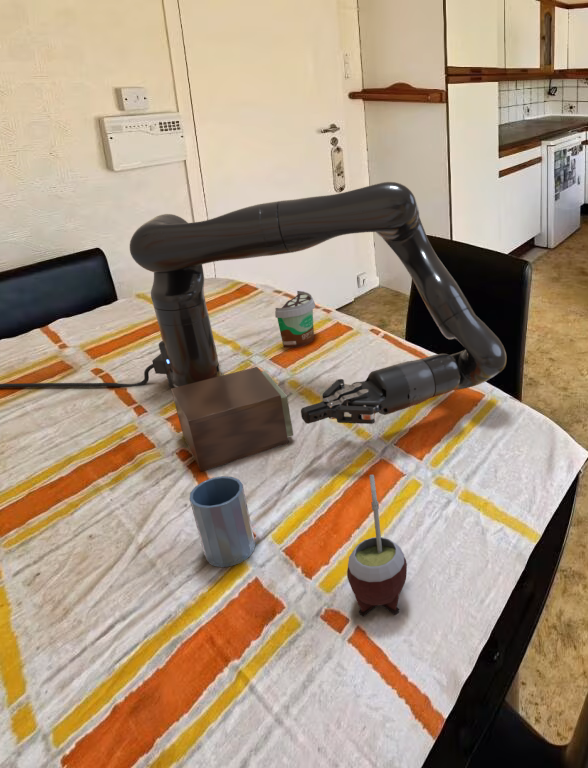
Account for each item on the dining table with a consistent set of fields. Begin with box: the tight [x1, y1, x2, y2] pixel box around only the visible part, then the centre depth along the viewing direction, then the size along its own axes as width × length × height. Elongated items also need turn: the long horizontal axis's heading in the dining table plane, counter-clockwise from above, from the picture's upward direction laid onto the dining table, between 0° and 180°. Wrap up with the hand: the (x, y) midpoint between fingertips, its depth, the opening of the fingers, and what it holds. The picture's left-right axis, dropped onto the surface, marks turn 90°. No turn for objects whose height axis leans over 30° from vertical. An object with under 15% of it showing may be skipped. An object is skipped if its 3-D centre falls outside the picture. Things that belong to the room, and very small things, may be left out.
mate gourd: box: [346, 474, 408, 618], centre depth 74 cm, size 8×8×15 cm
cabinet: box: [170, 366, 289, 472], centre depth 106 cm, size 15×13×10 cm
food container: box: [274, 290, 316, 349], centre depth 143 cm, size 12×6×10 cm, turn 168°
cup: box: [189, 475, 256, 568], centre depth 82 cm, size 6×6×10 cm
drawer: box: [261, 370, 294, 438], centre depth 107 cm, size 15×11×8 cm
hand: (303, 416), depth 96 cm, fingers closed
